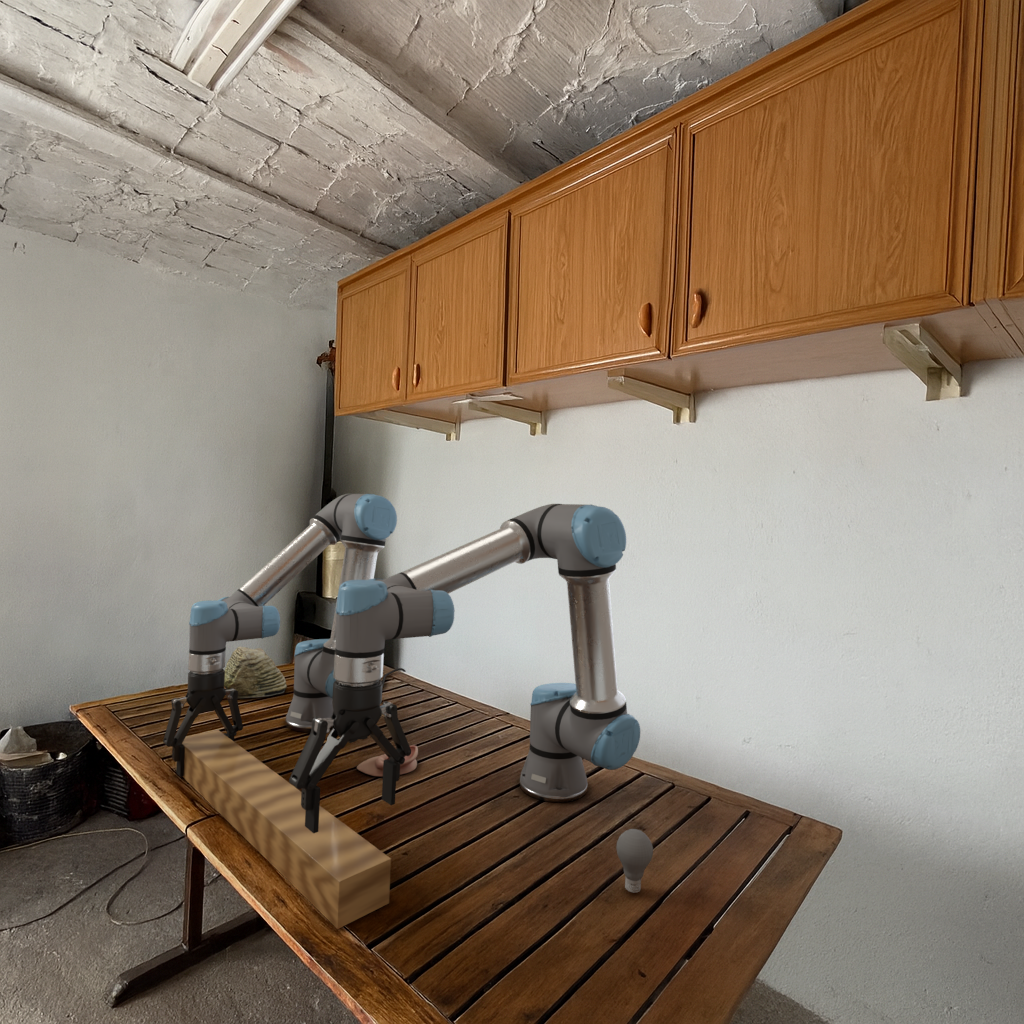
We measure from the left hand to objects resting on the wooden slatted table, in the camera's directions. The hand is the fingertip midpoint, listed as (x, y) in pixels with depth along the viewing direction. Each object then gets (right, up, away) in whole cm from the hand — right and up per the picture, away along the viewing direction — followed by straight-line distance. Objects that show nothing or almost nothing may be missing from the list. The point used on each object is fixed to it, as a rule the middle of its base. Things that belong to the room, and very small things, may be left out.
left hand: (203, 768), depth 144 cm
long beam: (+22, -2, -22) cm, 31 cm away
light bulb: (+90, -5, -38) cm, 98 cm away
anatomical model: (+41, -2, +6) cm, 41 cm away
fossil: (-11, +1, +54) cm, 55 cm away
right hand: (+45, +11, -44) cm, 64 cm away
